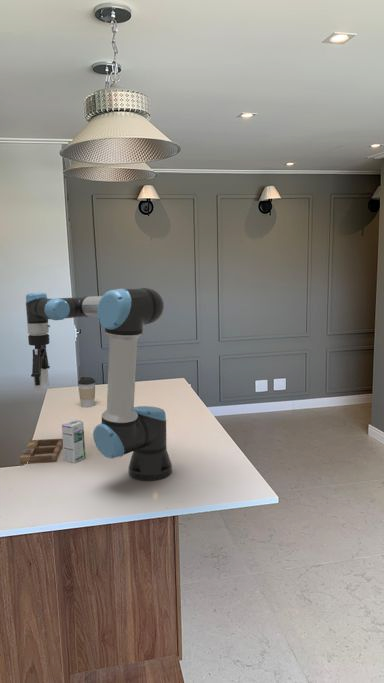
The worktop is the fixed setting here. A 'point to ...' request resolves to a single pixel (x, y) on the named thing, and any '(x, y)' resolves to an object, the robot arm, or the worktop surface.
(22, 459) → the socket board
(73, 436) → the syrup box
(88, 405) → the coffee cup
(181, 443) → the worktop surface
